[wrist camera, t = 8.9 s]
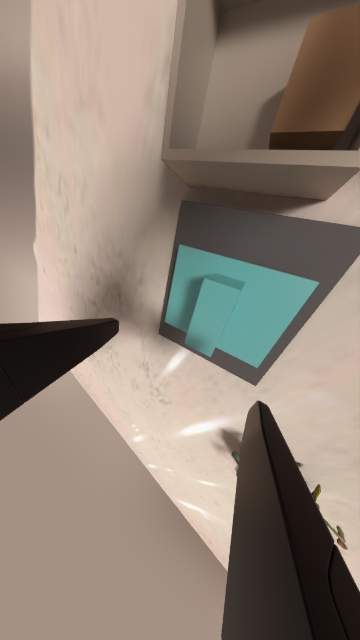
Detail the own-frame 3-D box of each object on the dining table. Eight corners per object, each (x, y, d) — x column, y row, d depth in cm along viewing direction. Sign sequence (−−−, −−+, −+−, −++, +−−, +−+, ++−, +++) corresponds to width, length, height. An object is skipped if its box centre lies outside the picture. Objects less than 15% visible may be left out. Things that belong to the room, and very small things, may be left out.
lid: (312, 279, 13) (346, 293, 8) (257, 358, 18) (256, 397, 13) (187, 245, 17) (155, 240, 12) (171, 317, 22) (144, 334, 17)
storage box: (485, -76, 6) (875, -656, 2) (326, 200, 11) (362, 167, 7) (218, 11, 11) (192, -141, 7) (187, 185, 16) (161, 159, 11)
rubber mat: (373, 231, 11) (379, 230, 10) (255, 383, 20) (255, 386, 20) (184, 202, 16) (181, 200, 16) (160, 332, 26) (158, 333, 25)
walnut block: (373, 67, 8) (419, -12, 6) (325, 160, 10) (344, 130, 8) (298, 77, 10) (311, 16, 7) (268, 159, 12) (270, 132, 9)
